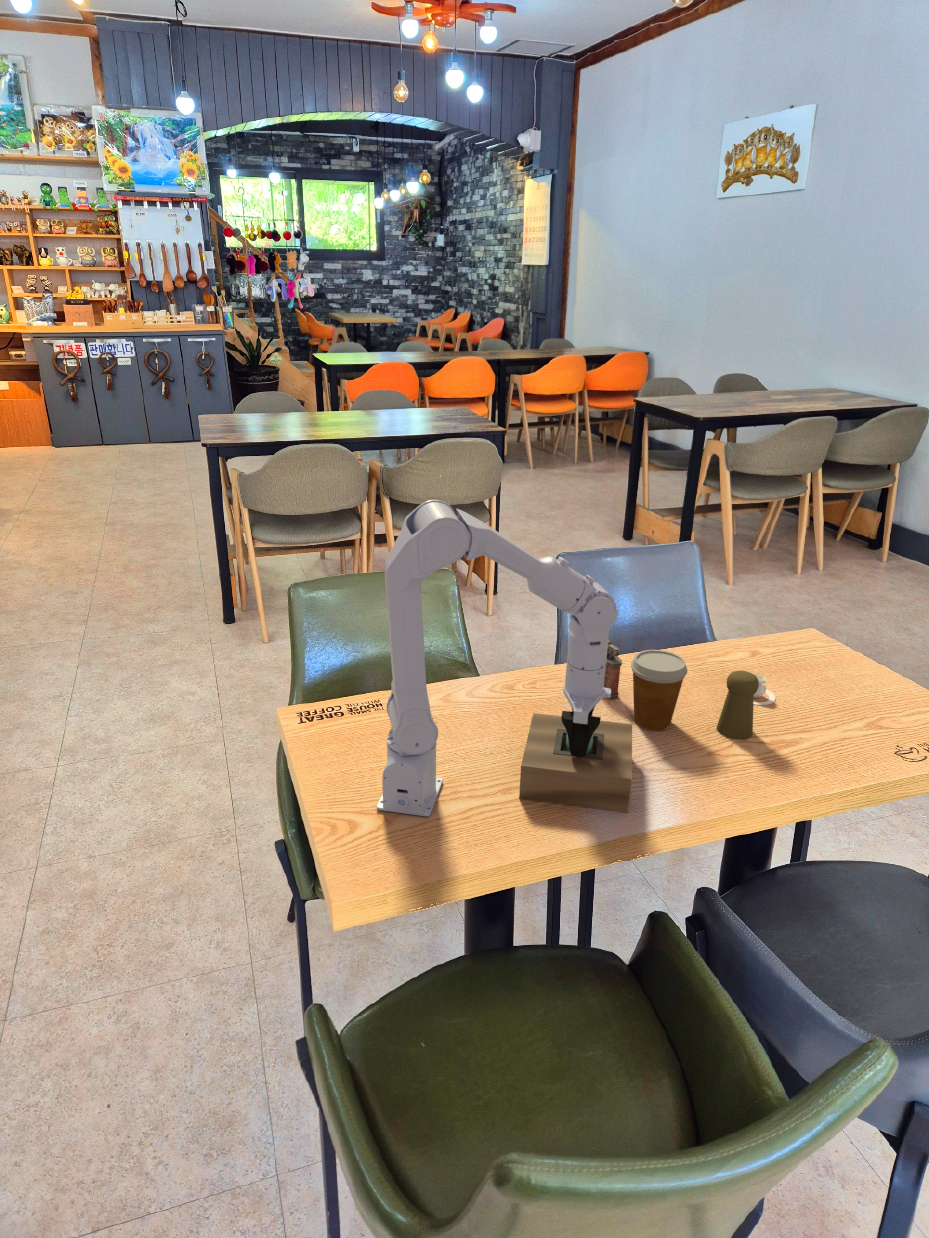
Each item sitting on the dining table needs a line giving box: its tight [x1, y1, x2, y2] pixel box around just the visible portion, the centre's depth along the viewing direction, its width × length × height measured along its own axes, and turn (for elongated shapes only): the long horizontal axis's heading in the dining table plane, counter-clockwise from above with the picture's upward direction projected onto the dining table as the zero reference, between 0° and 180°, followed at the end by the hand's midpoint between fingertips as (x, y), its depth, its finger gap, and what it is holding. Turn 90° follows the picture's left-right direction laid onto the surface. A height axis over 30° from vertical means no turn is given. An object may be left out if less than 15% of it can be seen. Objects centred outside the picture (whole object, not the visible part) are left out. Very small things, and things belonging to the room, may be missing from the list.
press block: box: [518, 712, 633, 814], centre depth 128 cm, size 16×16×6 cm
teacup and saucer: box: [753, 673, 777, 706], centre depth 155 cm, size 9×8×4 cm
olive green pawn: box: [716, 670, 759, 741], centre depth 141 cm, size 6×6×11 cm
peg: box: [566, 735, 593, 754], centre depth 127 cm, size 4×4×5 cm
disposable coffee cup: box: [630, 649, 689, 731], centre depth 143 cm, size 10×10×12 cm
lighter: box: [604, 639, 623, 701], centre depth 154 cm, size 8×3×10 cm, turn 25°
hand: (579, 741), depth 127 cm, fingers open, 7 cm apart
